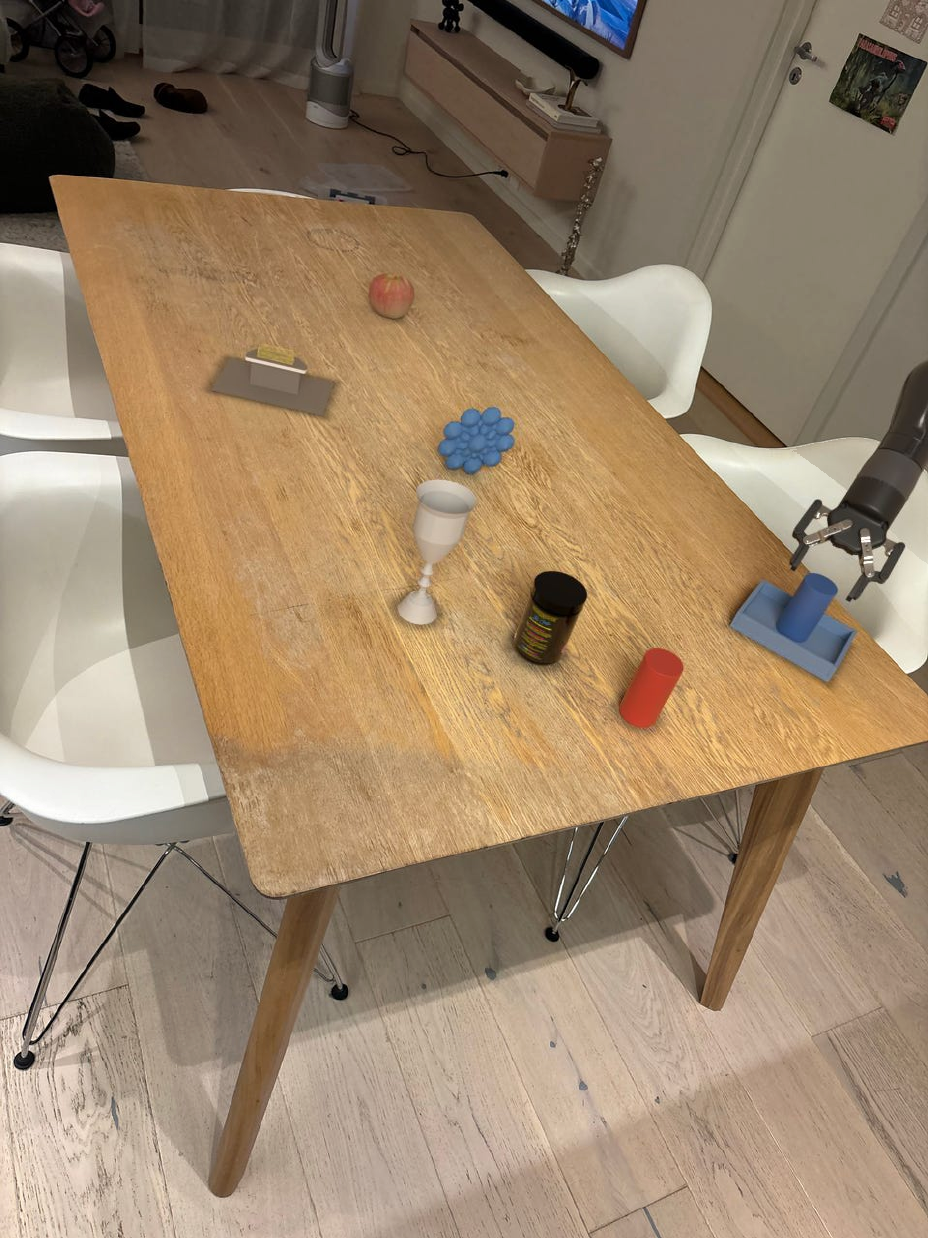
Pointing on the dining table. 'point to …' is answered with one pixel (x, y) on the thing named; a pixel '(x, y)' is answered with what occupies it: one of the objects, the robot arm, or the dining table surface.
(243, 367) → the platform
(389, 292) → the apple
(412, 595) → the chalice
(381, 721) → the dining table surface
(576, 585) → the supplement container
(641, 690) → the red pin
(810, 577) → the blue pin
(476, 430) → the blue bubble cluster
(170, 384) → the dining table surface
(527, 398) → the dining table surface
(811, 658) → the blue tray
